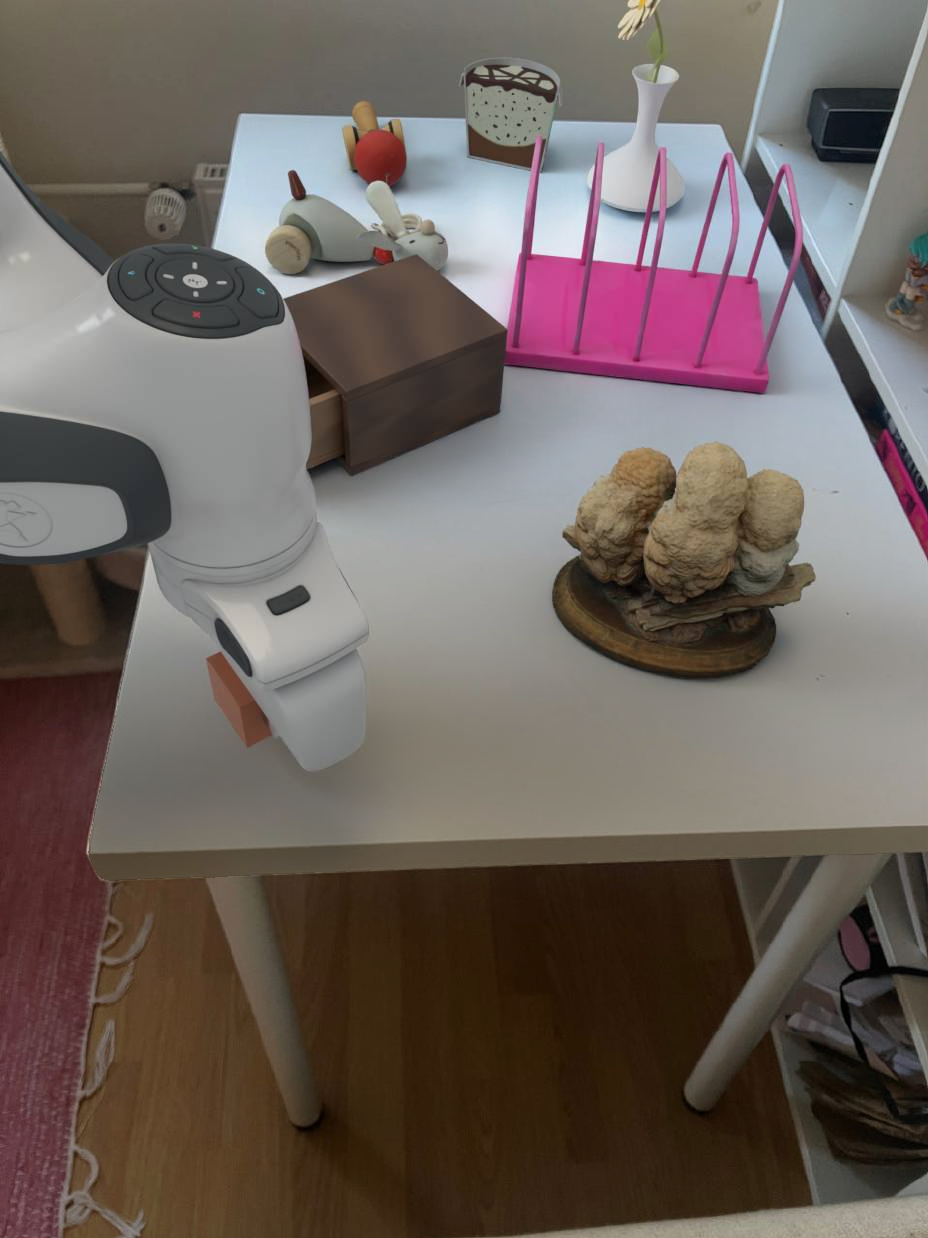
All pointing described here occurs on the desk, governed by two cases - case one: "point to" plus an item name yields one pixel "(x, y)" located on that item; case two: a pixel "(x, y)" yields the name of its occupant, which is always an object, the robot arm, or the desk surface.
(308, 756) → the robot arm
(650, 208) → the file sorter
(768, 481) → the owl figurine
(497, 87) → the food container
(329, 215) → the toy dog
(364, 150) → the kendama
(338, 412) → the drawer
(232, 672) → the block
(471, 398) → the cabinet
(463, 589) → the desk surface
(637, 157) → the flower in vase
